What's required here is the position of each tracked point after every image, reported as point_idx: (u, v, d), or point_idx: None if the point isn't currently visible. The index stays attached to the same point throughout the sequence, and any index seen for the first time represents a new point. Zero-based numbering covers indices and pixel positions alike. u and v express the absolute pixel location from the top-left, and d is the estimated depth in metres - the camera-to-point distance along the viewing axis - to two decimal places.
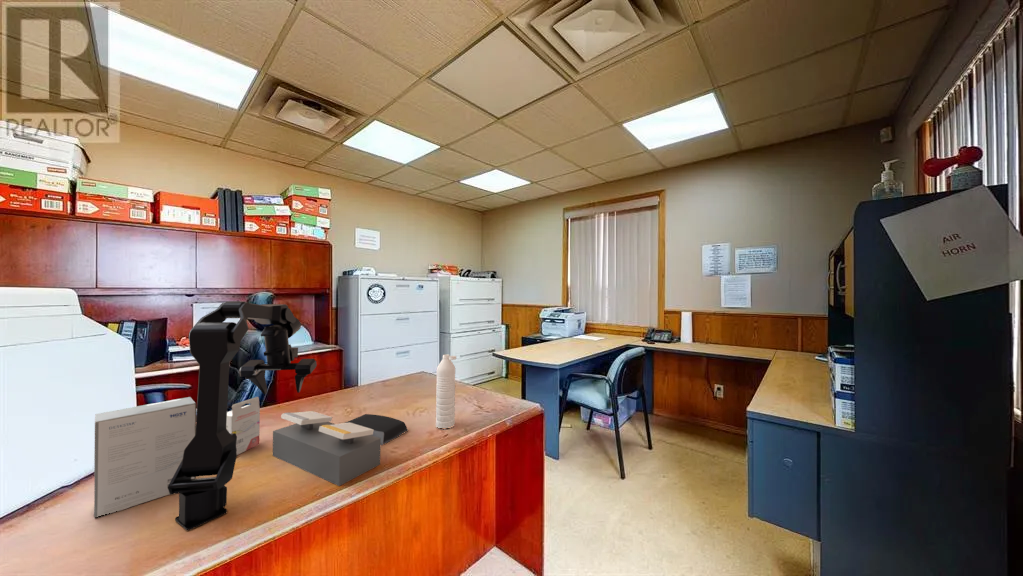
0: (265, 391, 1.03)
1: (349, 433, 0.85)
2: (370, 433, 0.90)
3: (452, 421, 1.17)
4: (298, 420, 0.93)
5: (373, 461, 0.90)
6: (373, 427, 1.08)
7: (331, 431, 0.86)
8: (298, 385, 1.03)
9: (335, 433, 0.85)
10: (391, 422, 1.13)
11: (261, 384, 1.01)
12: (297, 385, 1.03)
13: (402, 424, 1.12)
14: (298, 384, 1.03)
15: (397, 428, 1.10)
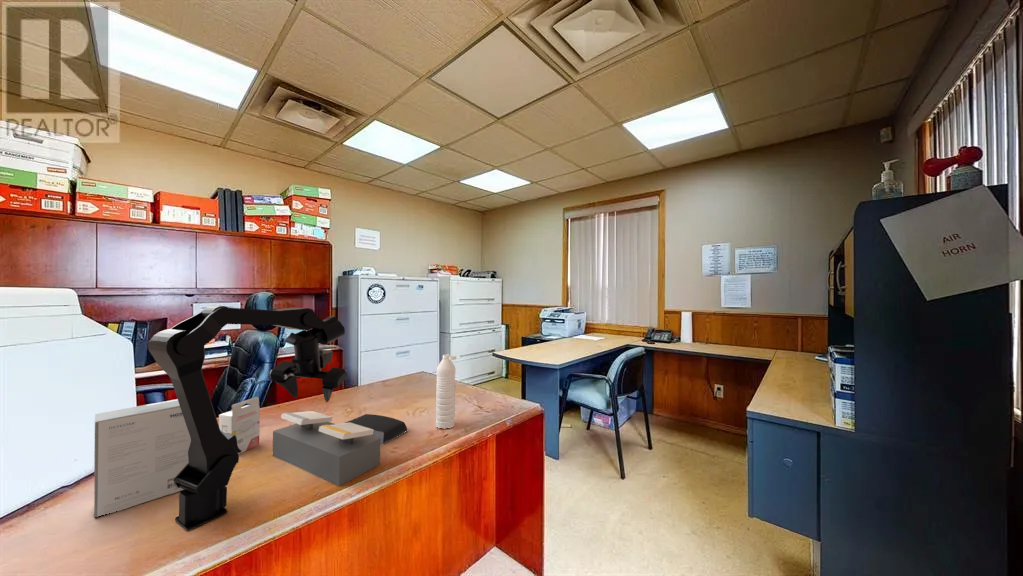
0: (295, 395, 0.97)
1: (349, 433, 0.85)
2: (370, 433, 0.90)
3: (452, 421, 1.17)
4: (298, 420, 0.93)
5: (373, 461, 0.90)
6: (373, 427, 1.08)
7: (331, 431, 0.86)
8: (326, 396, 0.95)
9: (335, 433, 0.85)
10: (391, 422, 1.13)
11: (291, 388, 0.95)
12: (325, 396, 0.95)
13: (402, 424, 1.12)
14: (326, 395, 0.94)
15: (397, 428, 1.10)
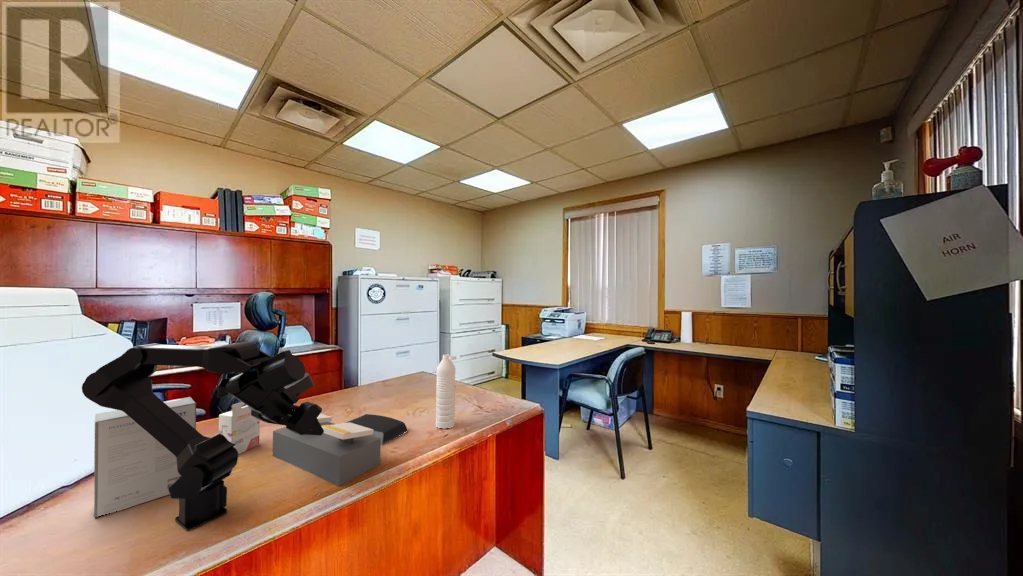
0: None
1: (349, 433, 0.85)
2: (370, 433, 0.90)
3: (452, 421, 1.17)
4: None
5: (373, 461, 0.90)
6: (372, 428, 1.07)
7: (331, 431, 0.86)
8: (310, 434, 0.76)
9: (335, 433, 0.85)
10: (391, 422, 1.12)
11: (284, 422, 0.81)
12: None
13: (402, 425, 1.12)
14: None
15: (396, 429, 1.10)
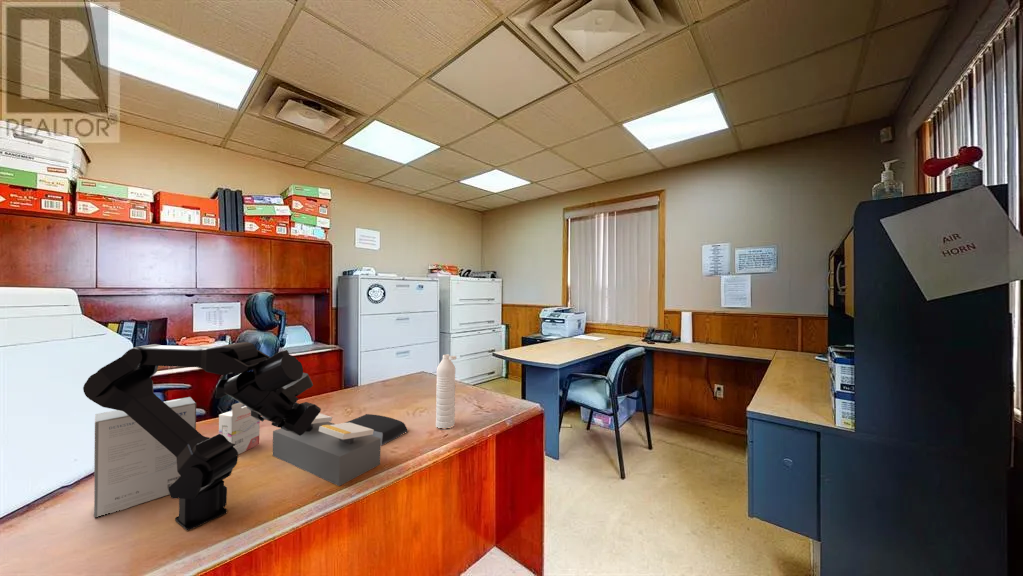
0: (307, 428, 0.81)
1: (349, 433, 0.85)
2: (370, 433, 0.90)
3: (452, 421, 1.17)
4: None
5: (373, 461, 0.90)
6: (372, 428, 1.07)
7: (331, 431, 0.86)
8: None
9: (335, 433, 0.85)
10: (391, 422, 1.12)
11: None
12: None
13: (402, 425, 1.12)
14: None
15: (396, 429, 1.09)
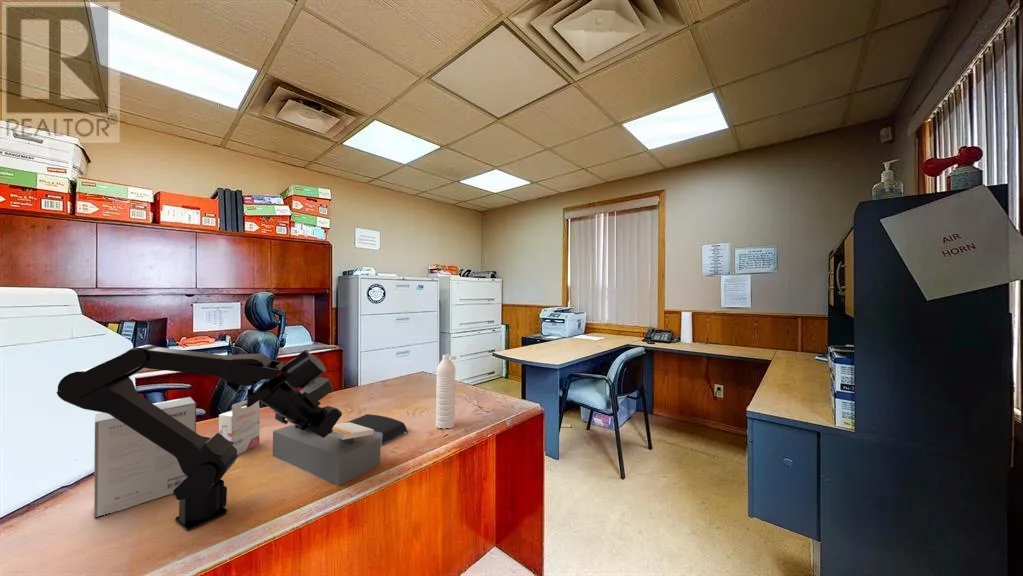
0: None
1: (349, 433, 0.85)
2: (370, 433, 0.90)
3: (452, 421, 1.17)
4: None
5: (373, 461, 0.90)
6: (372, 428, 1.07)
7: None
8: None
9: (335, 433, 0.85)
10: (391, 423, 1.12)
11: None
12: None
13: (402, 425, 1.12)
14: None
15: (396, 429, 1.09)
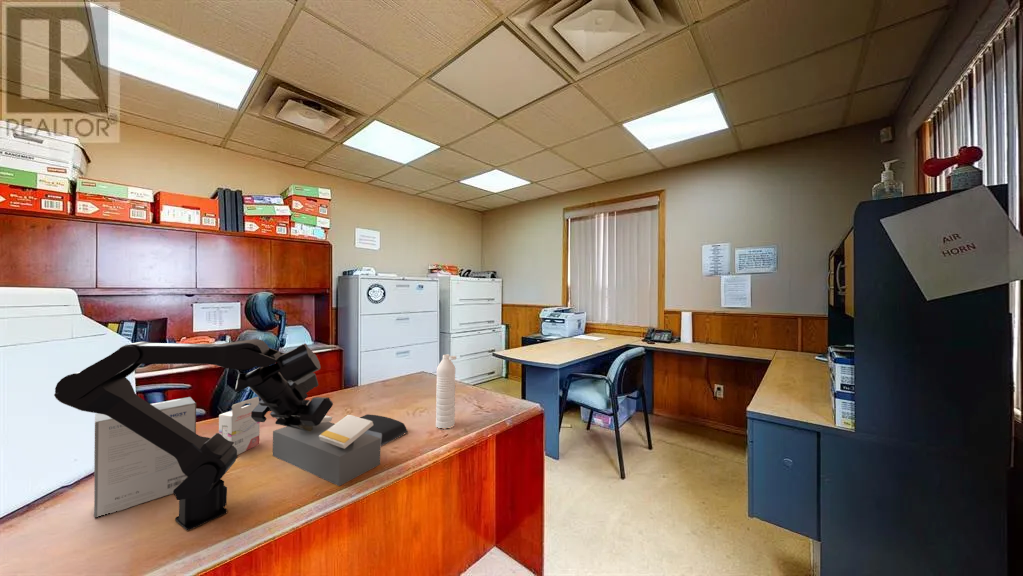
0: None
1: (348, 440, 0.85)
2: (370, 425, 0.90)
3: (452, 421, 1.17)
4: None
5: (373, 461, 0.90)
6: (372, 428, 1.07)
7: (331, 441, 0.86)
8: (302, 428, 0.81)
9: (335, 443, 0.85)
10: (391, 423, 1.12)
11: None
12: (301, 428, 0.81)
13: (402, 425, 1.11)
14: (301, 428, 0.81)
15: (396, 429, 1.09)
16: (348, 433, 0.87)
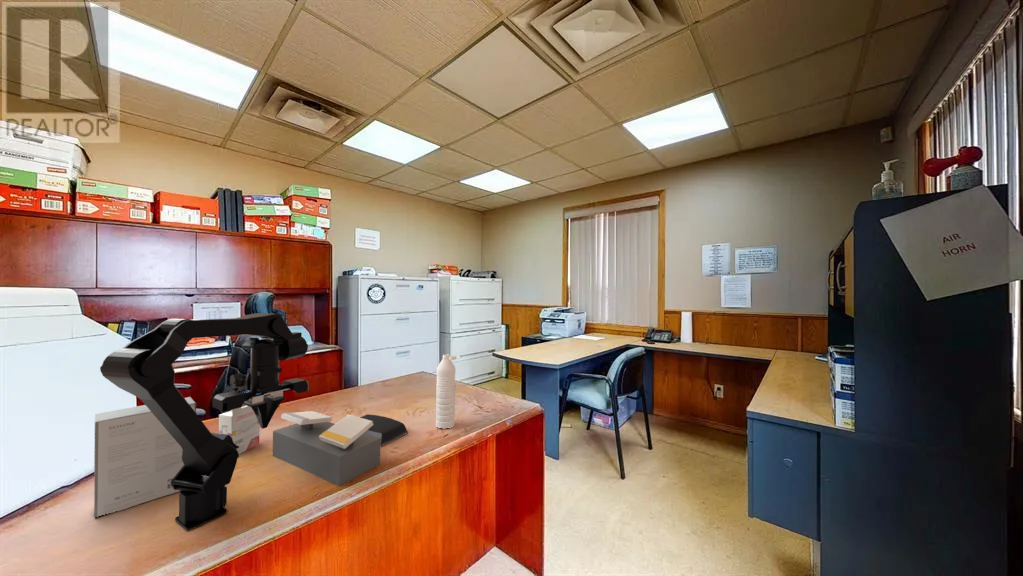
0: None
1: (348, 440, 0.85)
2: (370, 425, 0.90)
3: (452, 421, 1.17)
4: (298, 420, 0.93)
5: (373, 461, 0.90)
6: (371, 428, 1.07)
7: (331, 441, 0.86)
8: (272, 415, 0.83)
9: (335, 443, 0.85)
10: (391, 423, 1.11)
11: None
12: (270, 415, 0.83)
13: (401, 426, 1.11)
14: (272, 413, 0.83)
15: (396, 430, 1.09)
16: (348, 433, 0.87)
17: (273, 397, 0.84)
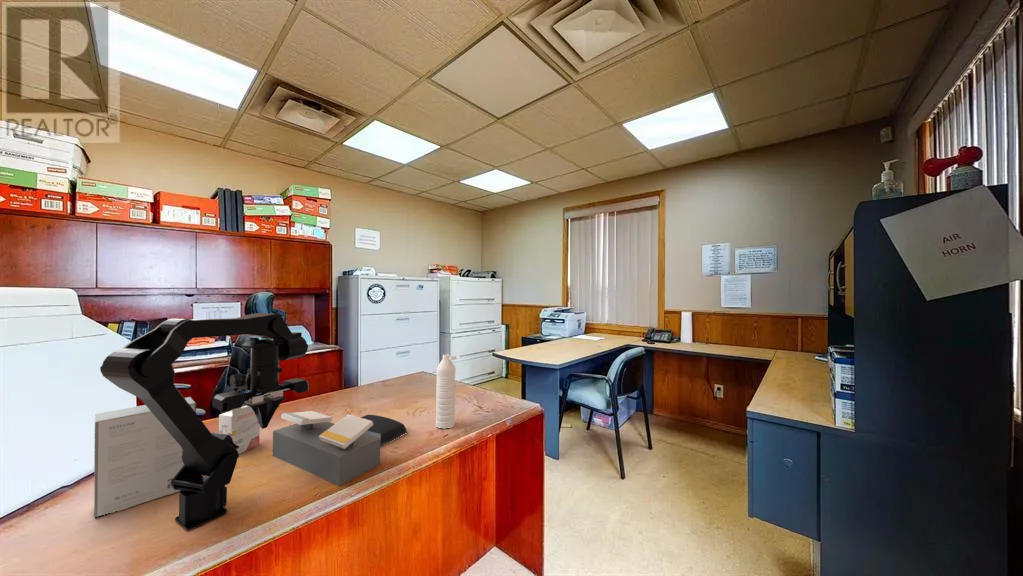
0: None
1: (348, 440, 0.85)
2: (370, 425, 0.90)
3: (452, 421, 1.17)
4: (298, 420, 0.93)
5: (373, 461, 0.90)
6: (371, 429, 1.07)
7: (331, 441, 0.86)
8: (272, 415, 0.83)
9: (335, 443, 0.85)
10: (391, 424, 1.11)
11: None
12: (270, 415, 0.83)
13: (401, 426, 1.11)
14: (272, 413, 0.83)
15: (395, 430, 1.08)
16: (348, 433, 0.87)
17: (273, 397, 0.84)
